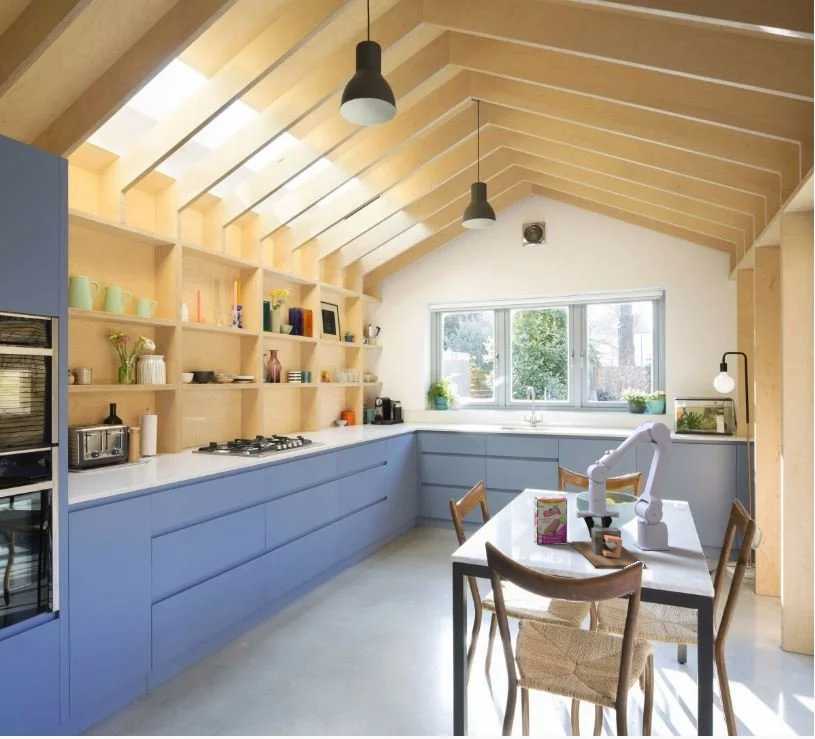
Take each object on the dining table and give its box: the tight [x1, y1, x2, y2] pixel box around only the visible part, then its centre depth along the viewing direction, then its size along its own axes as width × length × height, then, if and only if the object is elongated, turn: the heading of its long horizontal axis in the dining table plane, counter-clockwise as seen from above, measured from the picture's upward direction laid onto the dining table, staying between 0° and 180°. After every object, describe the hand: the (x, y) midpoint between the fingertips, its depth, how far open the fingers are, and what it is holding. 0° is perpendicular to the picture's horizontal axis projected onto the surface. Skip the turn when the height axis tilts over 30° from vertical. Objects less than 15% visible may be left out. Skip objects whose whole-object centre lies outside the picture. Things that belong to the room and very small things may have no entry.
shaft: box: [594, 526, 617, 550], centre depth 195 cm, size 4×17×4 cm, turn 0°
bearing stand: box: [571, 527, 647, 569], centre depth 193 cm, size 16×26×9 cm, turn 0°
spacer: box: [602, 535, 623, 558], centre depth 189 cm, size 6×4×5 cm
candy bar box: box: [533, 496, 568, 545], centre depth 208 cm, size 11×5×16 cm, turn 92°
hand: (597, 538), depth 202 cm, fingers closed on shaft, 4 cm apart
